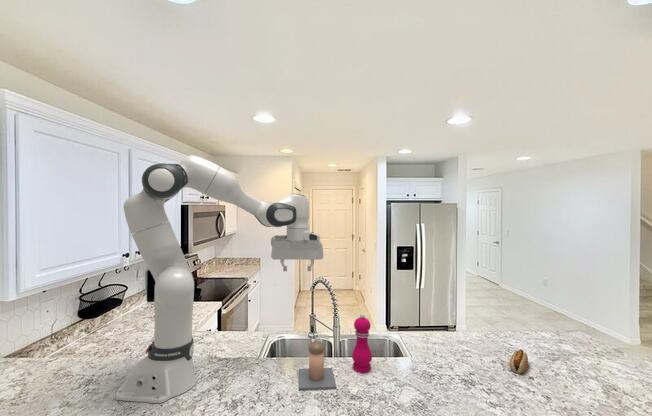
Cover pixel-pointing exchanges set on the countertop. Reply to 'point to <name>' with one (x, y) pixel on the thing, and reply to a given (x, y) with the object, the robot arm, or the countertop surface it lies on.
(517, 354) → the food
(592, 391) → the countertop surface
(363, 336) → the pepper mill
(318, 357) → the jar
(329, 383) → the pad
